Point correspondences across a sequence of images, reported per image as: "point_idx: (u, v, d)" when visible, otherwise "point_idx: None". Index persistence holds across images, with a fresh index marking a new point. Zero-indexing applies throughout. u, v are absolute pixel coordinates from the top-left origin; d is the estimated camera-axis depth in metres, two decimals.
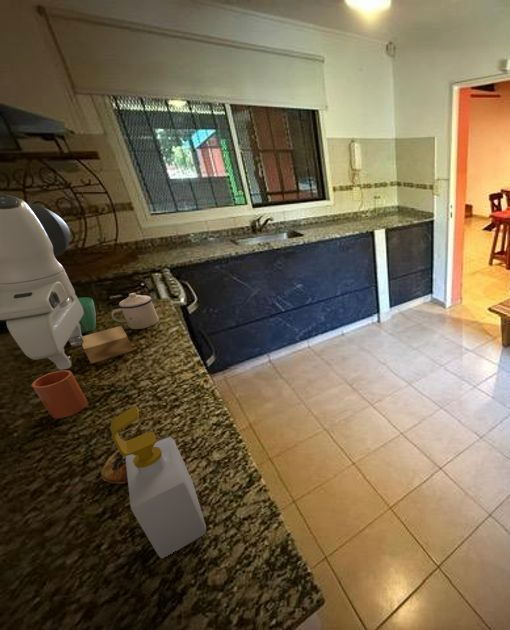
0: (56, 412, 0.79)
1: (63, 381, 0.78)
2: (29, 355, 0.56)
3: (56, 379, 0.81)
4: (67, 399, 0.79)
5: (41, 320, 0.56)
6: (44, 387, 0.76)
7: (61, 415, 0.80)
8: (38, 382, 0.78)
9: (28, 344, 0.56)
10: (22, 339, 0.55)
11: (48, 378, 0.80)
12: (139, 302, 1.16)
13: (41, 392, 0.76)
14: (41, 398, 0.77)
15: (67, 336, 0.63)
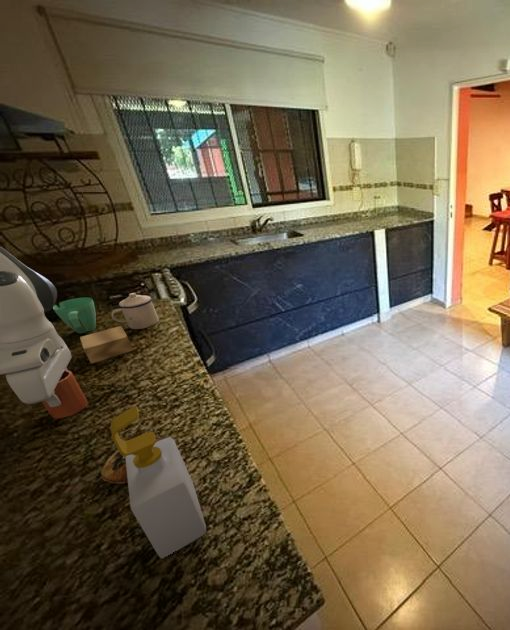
0: (56, 412, 0.79)
1: (63, 381, 0.78)
2: (24, 401, 0.70)
3: None
4: (67, 399, 0.79)
5: (33, 373, 0.70)
6: None
7: (61, 415, 0.80)
8: None
9: (23, 392, 0.69)
10: (19, 389, 0.69)
11: None
12: (139, 302, 1.16)
13: None
14: None
15: (56, 381, 0.76)
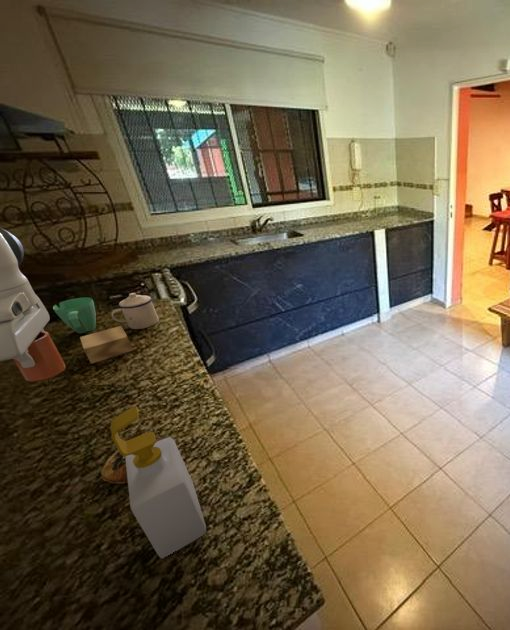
0: (30, 374, 0.74)
1: (38, 341, 0.73)
2: None
3: None
4: (42, 361, 0.74)
5: (4, 327, 0.65)
6: None
7: (36, 378, 0.75)
8: None
9: None
10: None
11: None
12: (139, 302, 1.16)
13: None
14: None
15: (30, 340, 0.71)
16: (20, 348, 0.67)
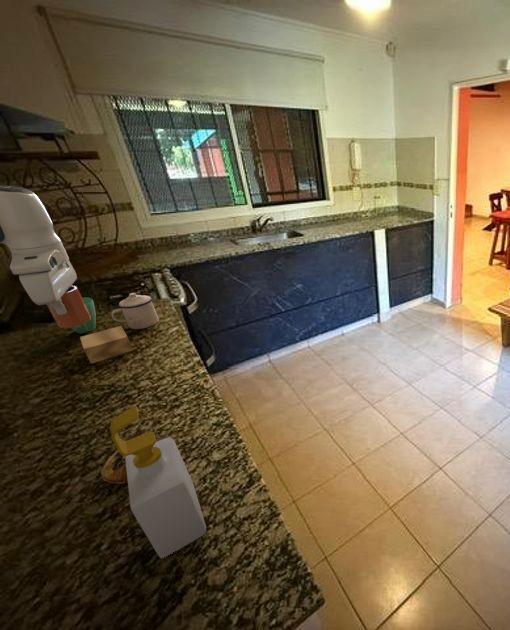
0: (63, 321, 0.88)
1: (69, 292, 0.87)
2: (35, 301, 0.78)
3: None
4: (73, 310, 0.88)
5: (43, 276, 0.78)
6: None
7: (67, 324, 0.88)
8: None
9: (34, 292, 0.78)
10: (30, 289, 0.77)
11: None
12: (139, 302, 1.16)
13: None
14: (49, 307, 0.86)
15: (63, 291, 0.85)
16: (56, 295, 0.81)
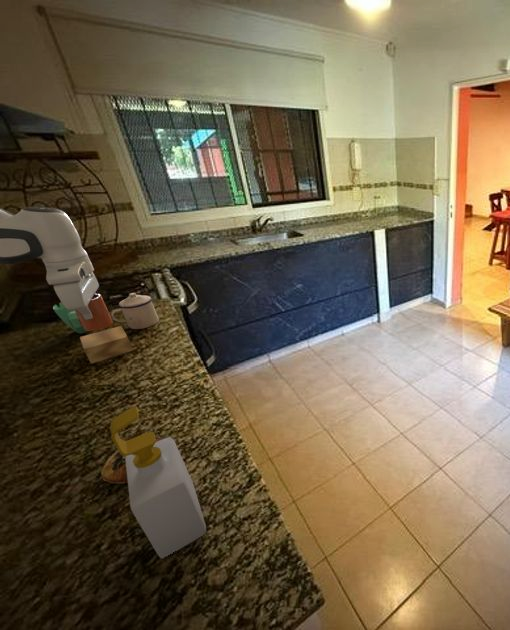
0: (89, 325, 0.98)
1: (94, 299, 0.97)
2: (67, 307, 0.89)
3: None
4: (97, 315, 0.99)
5: (74, 285, 0.89)
6: None
7: (92, 328, 0.99)
8: None
9: (66, 300, 0.89)
10: (63, 297, 0.88)
11: None
12: (139, 302, 1.16)
13: None
14: (77, 312, 0.96)
15: (89, 298, 0.96)
16: (85, 302, 0.92)
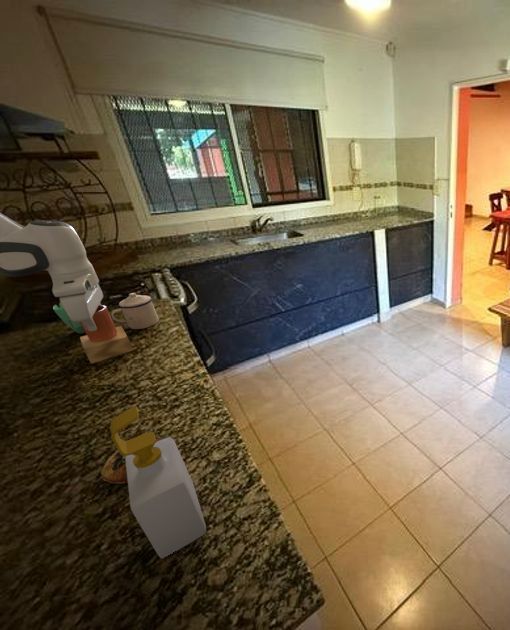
0: (94, 336, 1.00)
1: (100, 311, 0.99)
2: (72, 319, 0.91)
3: None
4: (103, 326, 1.00)
5: (80, 297, 0.90)
6: None
7: (98, 339, 1.01)
8: None
9: (72, 312, 0.90)
10: (69, 309, 0.90)
11: None
12: (139, 302, 1.16)
13: None
14: (83, 324, 0.98)
15: (94, 309, 0.97)
16: (90, 314, 0.93)
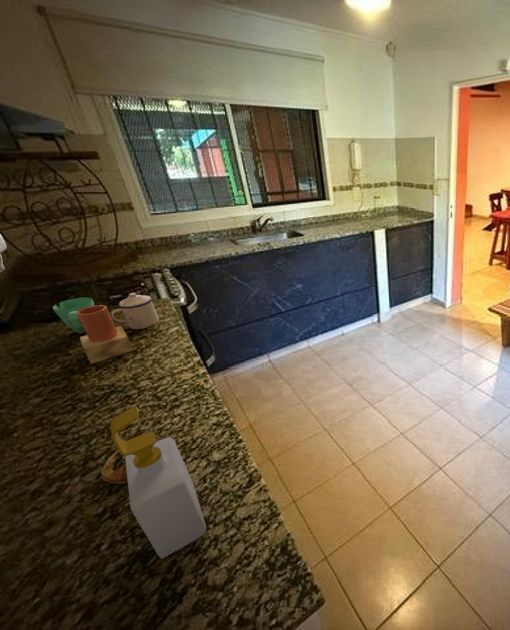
0: (94, 336, 1.00)
1: (100, 311, 0.99)
2: None
3: (94, 312, 1.02)
4: (103, 326, 1.00)
5: None
6: (86, 315, 0.97)
7: (98, 339, 1.01)
8: (80, 313, 0.99)
9: None
10: None
11: (87, 311, 1.01)
12: (139, 302, 1.16)
13: (83, 319, 0.97)
14: (83, 324, 0.98)
15: None
16: None
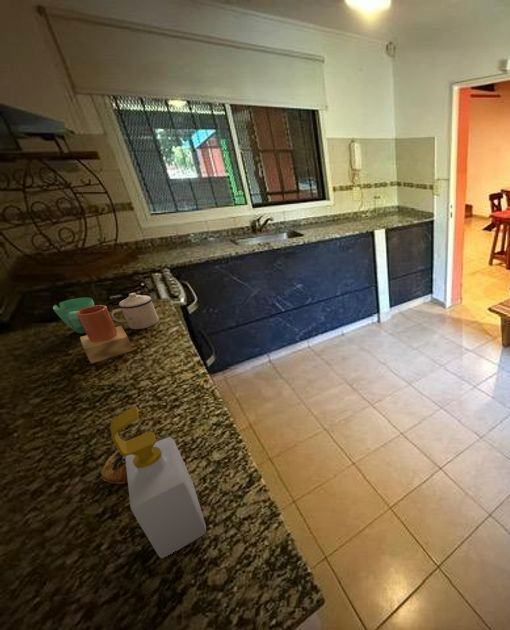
0: (94, 336, 1.00)
1: (100, 311, 0.99)
2: None
3: (94, 312, 1.02)
4: (103, 326, 1.00)
5: None
6: (86, 315, 0.97)
7: (98, 339, 1.01)
8: (80, 313, 0.99)
9: None
10: None
11: (87, 311, 1.01)
12: (139, 302, 1.16)
13: (83, 319, 0.97)
14: (83, 324, 0.98)
15: None
16: None
